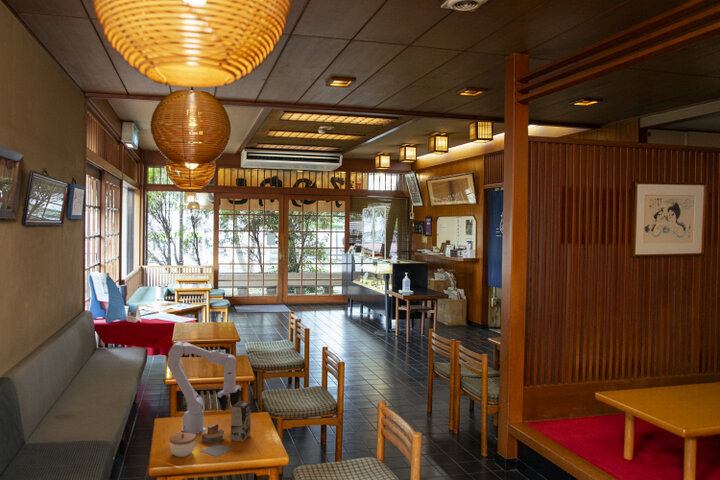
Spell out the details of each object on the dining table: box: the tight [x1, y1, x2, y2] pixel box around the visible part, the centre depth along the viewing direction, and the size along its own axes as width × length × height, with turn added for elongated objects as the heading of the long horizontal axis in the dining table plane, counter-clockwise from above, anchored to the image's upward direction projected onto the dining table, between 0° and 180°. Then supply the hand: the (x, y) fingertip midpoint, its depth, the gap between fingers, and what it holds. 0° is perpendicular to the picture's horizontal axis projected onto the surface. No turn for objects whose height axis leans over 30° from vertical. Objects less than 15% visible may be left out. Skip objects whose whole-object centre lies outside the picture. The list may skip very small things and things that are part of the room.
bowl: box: [201, 434, 224, 444], centre depth 255 cm, size 9×10×3 cm
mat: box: [199, 443, 234, 458], centre depth 243 cm, size 10×10×1 cm
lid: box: [201, 423, 225, 438], centre depth 255 cm, size 10×10×4 cm
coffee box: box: [230, 400, 252, 442], centre depth 258 cm, size 9×6×16 cm
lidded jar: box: [169, 432, 197, 458], centre depth 238 cm, size 11×11×9 cm
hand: (229, 408), depth 268 cm, fingers open, 7 cm apart
